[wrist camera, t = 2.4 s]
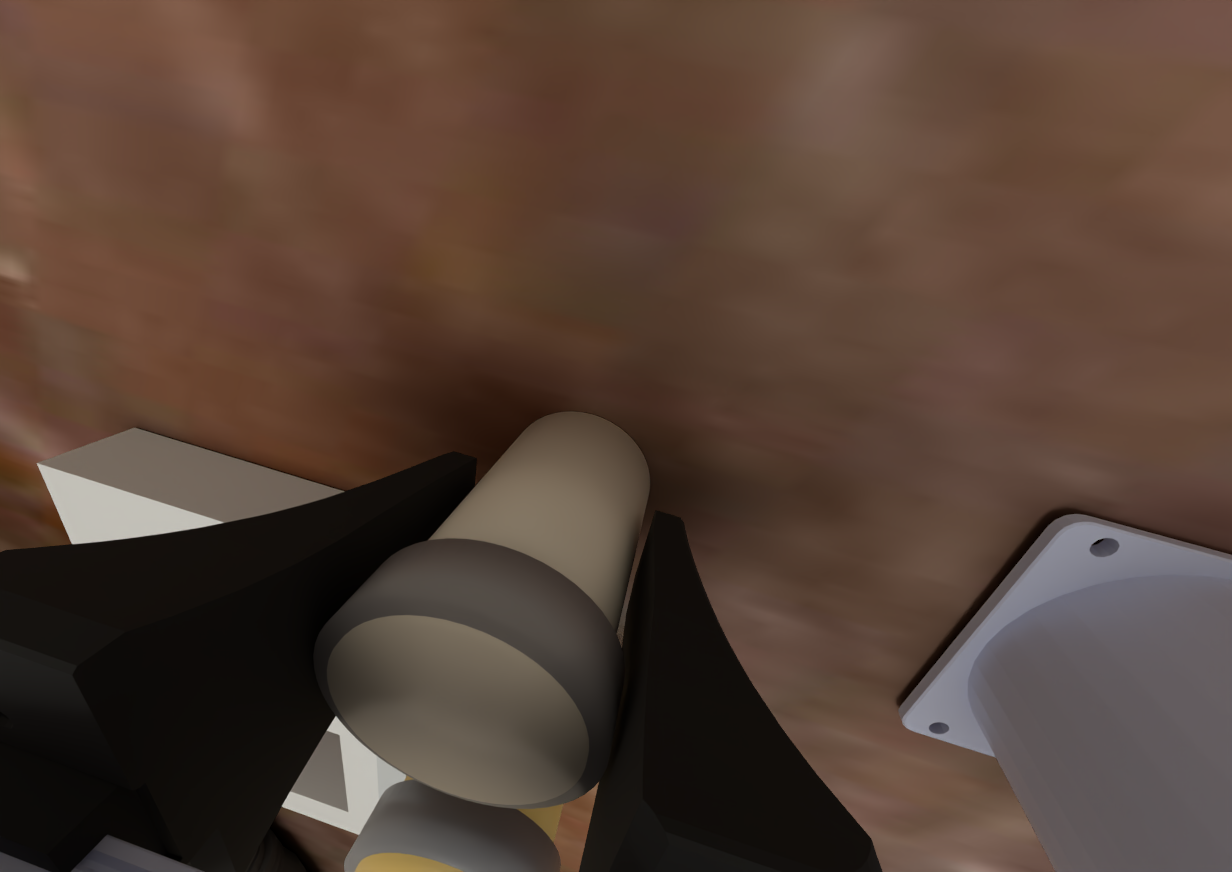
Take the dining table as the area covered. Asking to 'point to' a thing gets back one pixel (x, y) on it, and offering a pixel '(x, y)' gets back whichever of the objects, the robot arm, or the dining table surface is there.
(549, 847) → the yellow cylinder grey rim
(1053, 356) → the dining table surface
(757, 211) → the dining table surface
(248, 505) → the housing
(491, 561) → the cream grey-rimmed peg
